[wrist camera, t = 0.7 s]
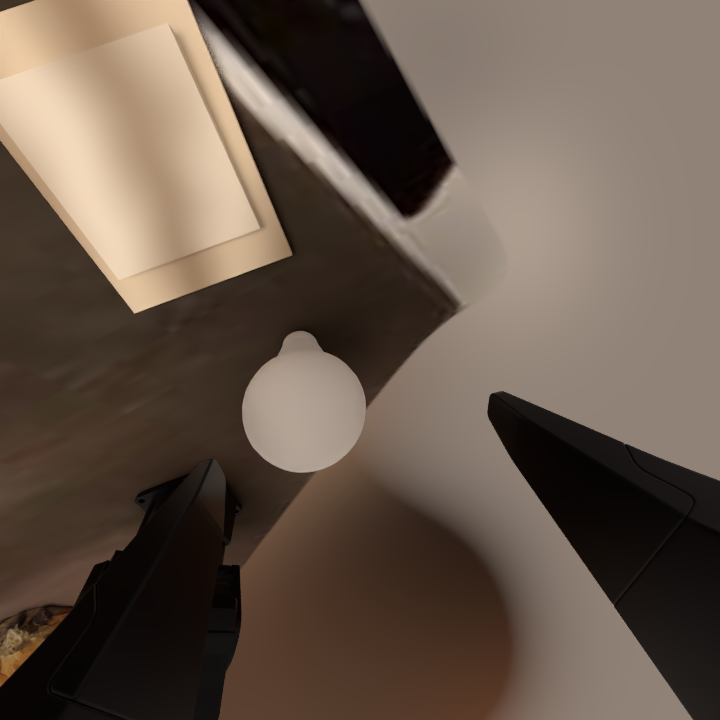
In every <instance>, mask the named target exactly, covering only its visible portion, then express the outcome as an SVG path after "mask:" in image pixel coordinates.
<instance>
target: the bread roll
mask: <svg viewBox="0 0 720 720" xmlns="http://www.w3.org/2000/svg"><path fill="white" fill-rule="evenodd" d="M72 609H73V607H48V608H36V609H32V610H29V611H25V612H23V613H21V614H18V615H15V616H13V617H11V618H9V619H7V620H6V621H4V622H3V623H2V624H0V687H1V686H2V684H3V683H4V682H5V681H6V680H7V679H8V678H9V677H10V676H11V675H12V674H13V673H14V672H15V671H16V670H17V669H18V668H19V667H20V666H21V665H22V663H23V662H24V661H25V660H26V659H27V658H28V657H29V656H30V655H31V654H32V653H33V652H34V651H35V650H36V649H37V648H38V646H39V645H40V644H41V643H42V642H43V641H44V640H45V639H46V638H47V637H48V636H49V635H50V634H51V632H52V631H53V630H54V629H55V628H56V627H57V626H58V625H59V624H60V623H61V621H62V620H63V619H64V618H65V617H66V616H67V615H68V614H69V612H70V611H71V610H72Z"/></svg>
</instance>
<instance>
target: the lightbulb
mask: <svg viewBox="0 0 720 720" xmlns="http://www.w3.org/2000/svg"><path fill="white" fill-rule="evenodd" d="M365 416H366V401H365V396H364V391H363V388H362V386H361V384H360V382H359V380H358V378H357V376H356V375H355V374H354V372H353V371H352V370H351V369H350V368H349V367H348V366H347V365H346V364H345V363H344V362H343V361H341V360H340V359H339V358H337V357H335V356H333V355H331V354H329V353H326V352H323V350H322V349H321V347H320V346H319V345H318V343H317V340H316V339H315V337H314V336H313V335H312V334H310V333H308V332H305V331H296V332H293V333H290V334H289V335H288V336H287V337H286V338H285V339H284V341H283V345H282V349H281V350H280V352H279V354H278V356H277V357H275V358H273V359H271V360H270V361H268V362H267V363H266V364H264V365H263V366H262V367H261V368H260V369H259V371H258V372H257V373H256V374H255V375H254V377H253V378H252V380H251V382H250V384H249V385H248V387H247V389H246V392H245V396H244V400H243V405H242V419H243V425H244V429H245V432H246V435H247V437H248V439H249V441H250V443H251V445H252V447H253V448H254V449H255V450H256V451H257V452H258V453H259V454H260V455H261V456H262V457H263V458H264V459H265V460H266V461H268V462H269V463H271V464H272V465H275V466H277V467H279V468H281V469H283V470H287V471H291V472H299V473H302V472H313V471H318V470H321V469H324V468H327V467H329V466H331V465H333V464H335V463H336V462H338V461H339V460H340V459H341V458H343V457H344V456H345V455H346V454H347V453H348V452H349V451H350V450H351V449H352V447H353V446H354V445H355V443H356V442H357V440H358V438H359V436H360V434H361V432H362V430H363V426H364V422H365Z"/></svg>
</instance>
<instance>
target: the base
mask: <svg viewBox="0 0 720 720" xmlns="http://www.w3.org/2000/svg"><path fill="white" fill-rule="evenodd" d="M0 141H1V142H2V143H3V144H4V146H5V147H6V148H7V150H8V151H9V152H10V153H11V155H12V156H13V157H14V159H15V160H16V161H17V162H18V164H19V165H20V166H21V168H22V169H23V170H24V171H25V173H26V174H27V175H28V177H29V178H30V179H31V181H32V182H33V183H34V184H35V186H36V187H37V188H38V190H39V191H40V192H41V193H42V195H43V196H44V197H45V199H46V200H47V201H48V202H49V204H50V205H51V206H52V208H53V209H54V210H55V211H56V213H57V214H58V215H59V217H60V218H61V219H62V220H63V222H64V223H65V224H66V226H67V227H68V228H69V230H70V231H71V232H72V233H73V235H74V236H75V237H76V239H77V240H78V241H79V242H80V244H81V245H82V246H83V248H84V249H85V250H86V251H87V253H88V254H89V255H90V257H91V258H92V259H93V260H94V262H95V263H96V264H97V266H98V267H99V268H100V269H101V271H102V272H103V273H104V275H105V276H106V277H107V279H108V280H109V281H110V282H111V284H112V285H113V286H114V288H115V289H116V290H117V291H118V293H119V294H120V295H121V297H122V298H123V299H124V300H125V302H126V303H127V304H128V306H129V307H130V308H131V309H132V311H133V312H134V313H137V312H140V311H142V310H145V309H148V308H151V307H153V306H156V305H159V304H161V303H164V302H167V301H170V300H172V299H175V298H178V297H180V296H183V295H186V294H189V293H191V292H194V291H197V290H199V289H202V288H205V287H207V286H210V285H213V284H216V283H218V282H221V281H224V280H226V279H229V278H232V277H235V276H237V275H240V274H243V273H245V272H248V271H251V270H254V269H256V268H259V267H262V266H264V265H267V264H270V263H273V262H275V261H278V260H281V259H283V258H286V257H289V256H292V251H291V248H290V246H289V243H288V241H287V239H286V236H285V234H284V231H283V229H282V226H281V224H280V222H279V219H278V217H277V214H276V212H275V209H274V207H273V205H272V202H271V200H270V197H269V195H268V192H267V190H266V188H265V185H264V183H263V180H262V178H261V176H260V173H259V171H258V168H257V166H256V163H255V161H254V159H253V156H252V154H251V151H250V149H249V146H248V144H247V142H246V139H245V137H244V134H243V132H242V129H241V127H240V125H239V122H238V120H237V117H236V115H235V112H234V110H233V108H232V105H231V103H230V100H229V98H228V96H227V93H226V91H225V88H224V86H223V83H222V81H221V79H220V76H219V74H218V71H217V69H216V66H215V64H214V62H213V59H212V57H211V54H210V52H209V49H208V47H207V45H206V42H205V40H204V37H203V35H202V33H201V30H200V28H199V25H198V23H197V20H196V18H195V16H194V13H193V11H192V8H191V6H190V3H189V1H188V0H35V1H32V2H29V3H26V4H23V5H20V6H17V7H14V8H11V9H8V10H5V11H2V12H0Z"/></svg>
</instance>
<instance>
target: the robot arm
mask: <svg viewBox="0 0 720 720" xmlns="http://www.w3.org/2000/svg"><path fill="white" fill-rule="evenodd" d="M488 417H489V420H490V421H491V423H492V425H493V427H494V429H495V431H496V432H497V434H498V436H499V438H500V440H501V441H502V443H503V445H504V447H505V449H506V450H507V452H508V454H509V455H510V457H511V459H512V460H513V462H514V463H515V465H516V466H517V467H518V469H519V471H520V472H521V473H522V475H523V476H524V478H525V479H526V481H527V482H528V483H529V485H530V486H531V488H532V489H533V491H534V492H535V493H536V495H537V496H538V498H539V499H540V501H541V502H542V504H543V505H544V506H545V508H546V509H547V510H548V512H549V513H550V515H551V516H552V518H553V519H554V521H555V522H556V524H557V525H558V527H559V528H560V529H561V531H562V532H563V533H564V535H565V537H566V538H567V539H568V541H569V542H570V544H571V545H572V547H573V548H574V549H575V551H576V552H577V554H578V555H579V557H580V558H581V559H582V561H583V562H584V564H585V565H586V567H587V568H588V570H589V571H590V572H591V574H592V575H593V577H594V578H595V580H596V581H597V582H598V584H599V585H600V587H601V588H602V590H603V591H604V592H605V594H606V595H607V597H608V598H609V600H610V601H611V602H612V604H614V607H615V609H616V610H617V611H618V613H619V614H620V616H621V617H622V619H623V620H624V621H625V623H626V624H627V626H628V627H629V629H630V630H631V631H632V633H633V634H634V636H635V637H636V639H637V640H638V641H639V643H640V644H641V646H642V647H643V648H644V650H645V652H646V653H647V654H648V656H649V657H650V659H651V660H652V662H653V663H654V664H655V666H656V667H657V669H658V670H659V672H660V673H661V674H662V676H663V677H664V679H665V680H666V682H667V683H668V684H669V686H670V687H671V689H672V690H673V692H674V693H675V694H676V696H677V697H678V699H679V700H680V702H681V703H682V705H683V706H684V707H685V709H686V710H687V712H688V713H689V714H690V716H691V717H692V719H693V720H720V481H719V480H716V479H714V478H711V477H708V476H706V475H703V474H700V473H697V472H695V471H692V470H689V469H687V468H684V467H682V466H679V465H676V464H674V463H671V462H668V461H665V460H663V459H661V458H659V457H656V456H654V455H651V454H649V453H647V452H644V451H641V450H639V449H637V448H635V447H632V446H630V445H628V444H625V445H624V443H623V442H620V441H618V440H616V439H614V438H611V437H609V436H606V435H604V434H602V433H599V432H597V431H595V430H593V429H590V428H588V427H586V426H583V425H581V424H578V423H576V422H574V421H572V420H569V419H567V418H564V417H562V416H560V415H558V414H555V413H553V412H551V411H548V410H546V409H544V408H541V407H539V406H537V405H534V404H532V403H529V402H527V401H525V400H522V399H520V398H518V397H516V396H513V395H511V394H509V393H506V392H504V391H500V392H496V393H492V394H491V395H490V397H489V404H488ZM135 503H136V504H138V505H139V506H140V507H141V508H143V509H144V510H145V511H146V514H145V516H144V519H143V521H142V523H141V526H140V528H139V530H138V532H137V535H136V536H135V537H134V539H133V540H132V541H131V542H130V543H129V544H128V546H127V547H126V548H125V549H124V550H123V551H120V550H116V551H115V553H114V555H113V557H112V558H111V560H110V561H108V560H107V561H106V562H102V563H99V564H96V565H95V566H94V567H93V569H92V571H91V573H90V575H89V577H88V579H87V581H86V583H85V585H84V587H83V589H82V591H81V593H80V595H79V597H78V599H77V601H76V603H75V605H74V607H73V609H72V610H71V611H70V612H69V614H68V615H67V616H66V617H65V618H64V619H63V620H62V621H61V623H60V624H59V625H58V626H57V627H56V628H55V629H54V630H53V631H52V632H51V634H50V635H49V636H48V637H47V638H46V639H45V640H44V641H43V642H42V643H41V644H40V645H39V646H38V648H37V649H36V650H35V651H34V652H33V653H32V654H31V655H30V656H29V657H28V658H27V659H26V660H25V661H24V662H23V663H22V665H21V666H20V667H19V668H18V669H17V670H16V671H15V672H14V673H13V674H12V675H11V676H10V677H9V678H8V679H7V680H6V681H5V682H4V683H3V684H2V686H1V687H0V720H218V718H219V714H220V707H221V699H222V692H223V685H224V679H225V673H226V670H227V669H228V667H229V665H230V663H231V661H232V658H233V656H234V653H235V650H236V646H237V642H238V638H239V633H240V627H241V591H240V566H239V565H232V566H229V565H223V559H224V553H225V547H226V546H228V545H229V544H230V542H231V537H232V531H233V525H234V518H235V516H236V515H238V514H240V513H241V512H242V506H241V505H240V504H239V502H238V501H237V500H236V499H235V498H234V496H233V495H232V494H231V493H230V492H229V491H228V490H227V489H226V478H225V475H224V473H223V471H222V470H221V468H220V466H219V464H218V463H217V461H216V460H215V459H209V460H205V461H201V462H199V463H198V464H197V465H196V467H195V468H194V469H193V470H192V471H191V472H190V474H189V475H186V476H184V477H181V478H179V479H176V480H173V481H171V482H168V483H166V484H163V485H161V486H158V487H155V488H153V489H150V490H148V491H145V492H143V493H140V494H138V495H137V497H136V499H135Z"/></svg>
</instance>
